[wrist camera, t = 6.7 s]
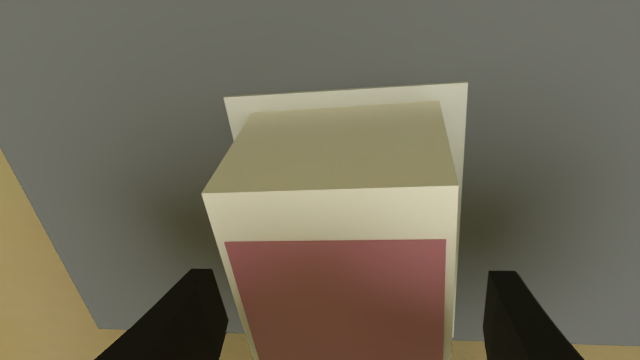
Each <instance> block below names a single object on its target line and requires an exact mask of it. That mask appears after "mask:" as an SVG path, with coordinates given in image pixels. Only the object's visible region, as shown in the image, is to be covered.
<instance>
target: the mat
mask: <svg viewBox="0 0 640 360" xmlns="http://www.w3.org/2000/svg"><path fill="white" fill-rule="evenodd" d="M427 101H440V106H441V110H442V115H443V119H444V123H445V128H446V132H447V137H448V141H449V145H450V150H451V154H452V158H453V163H454V167H455V172H456V176H457V180H458V185H459V189H458V213H457V236H456V260H455V284H454V308H453V332H452V340H464V341H484V334H483V319H484V309H485V300H486V290H487V281H488V271H516V272H517V273H518V274H519V275H520V277H521V278H522V280H523V281H524V283H525V284H526V286H527V287H528V289H529V290H530V291H531V293H532V294H533V296H534V297H535V298H536V300H537V301H538V303H539V304H540V305H541V307H542V308H543V309H544V311H545V312H546V313H547V315H548V316H549V317H550V319H551V320H552V321H553V322H554V324H555V325H556V326H557V327H558V329H559V330H560V331H561V332H562V334H563V335H564V336H565V337H566V338H567V340H568V341H569V342H570V343H571V344H588V345H619V346H640V0H0V148H1V150H2V152H3V153H4V155H5V157H6V159H7V161H8V163H9V165H10V166H11V168H12V170H13V172H14V174H15V176H16V177H17V179H18V181H19V183H20V185H21V187H22V189H23V190H24V192H25V194H26V196H27V198H28V200H29V201H30V203H31V205H32V207H33V209H34V211H35V213H36V214H37V216H38V218H39V220H40V222H41V224H42V225H43V227H44V229H45V231H46V233H47V235H48V236H49V238H50V240H51V242H52V244H53V246H54V248H55V249H56V251H57V253H58V255H59V257H60V259H61V260H62V262H63V264H64V266H65V268H66V270H67V272H68V273H69V275H70V277H71V279H72V281H73V283H74V284H75V286H76V288H77V290H78V292H79V294H80V295H81V297H82V299H83V301H84V303H85V305H86V307H87V308H88V310H89V312H90V314H91V316H92V318H93V319H94V321H95V323H96V325H97V327H98V329H124V330H128V329H130V328H131V327H132V326H133V325H134V324H135V323H136V322H137V321H138V320H139V319H140V318H141V317H142V316H143V315H144V314H145V313H146V312H147V311H148V310H150V309H151V308H152V307H153V306H154V305H155V304H156V303H157V302H158V301H159V300H160V299H161V298H162V297H163V296H164V295H165V294H166V293H167V292H168V291H169V290H170V289H171V288H172V287H173V286H174V285H175V284H176V283H177V282H178V281H179V280H180V279H181V278H182V277H183V276H184V275H185V274H186V273H187V272H188V271H189V270H191V269H212V270H213V273H214V276H215V279H216V282H217V285H218V288H219V292H220V295H221V298H222V301H223V304H224V307H225V310H226V314H227V317H228V320H229V321H228V326H227V330H226V333H244V330H243V327H242V323H241V320H240V317H239V314H238V310H237V307H236V304H235V301H234V298H233V294H232V291H231V288H230V285H229V281H228V278H227V275H226V272H225V269H224V265H223V262H222V259H221V256H220V252H219V249H218V246H217V243H216V240H215V236H214V233H213V230H212V227H211V223H210V220H209V217H208V214H207V211H206V207H205V204H204V201H203V198H202V194H201V193H202V191H203V190H204V188H205V187H206V185H207V183H208V182H209V180H210V179H211V177H212V176H213V174H214V172H215V171H216V169H217V168H218V166H219V164H220V163H221V161H222V160H223V158H224V156H225V155H226V153H227V152H228V150H229V148H230V147H231V145H232V144H233V142H234V140H235V139H236V137H237V136H238V134H239V133H240V131H241V129H242V128H243V126H244V125H245V123H246V121H247V120H248V118H249V117H250V115H251V113H253V112H268V111H284V110H300V109H316V108H332V107H347V106H363V105H379V104H395V103H411V102H427Z"/></svg>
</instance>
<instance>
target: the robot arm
mask: <svg viewBox="0 0 640 360" xmlns="http://www.w3.org/2000/svg"><path fill="white" fill-rule="evenodd" d="M228 321H229V320H228V317H227V314H226V310H225V307H224V304H223V301H222V298H221V295H220V292H219V288H218V285H217V282H216V279H215V276H214V273H213V270H212V269H191V270H189V271H188V272H187V273H186V274H185V275H184V276H183V277H182V278H181V279H180V280H179V281H178V282H177V283H176V284H175V285H174V286H173V287H172V288H171V289H170V290H169V291H168V292H167V293H166V294H165V295H164V296H163V297H162V298H161V299H160V300H159V301H158V302H157V303H156V304H155V305H154V306H153V307H152V308H151V309H150V310H148V311H147V312H146V313H145V314H144V315H143V316H142V317H141V318H140V319H139V320H138V321H137V322H136V323H135V324H134V325H133V326H132V327H131V328H130V329H128V330H127V331H126V332H125V333H124V334H123V335H122V336H121V337H119V338H118V339H117V340H116V341H115V342H114V343H113V344H112V345H110V346H109V347H108V348H107V349H106V350H105V351H104V352H103V353H101V354H100V355H99V356H98V357H97V358H96V359H94V360H219V357H220V354H221V350H222V346H223V342H224V338H225V334H226V330H227V326H228ZM483 334H484V341H485V348H486V354H487V360H584V359H583V358H582V356H581V355H580V354H579V353H578V352H577V351H576V349H575V348H574V347H573V346H572V345H571V343H570V342H569V341H568V340H567V338H566V337H565V336H564V335H563V334H562V332H561V331H560V330H559V329H558V327H557V326H556V325H555V324H554V322H553V321H552V320H551V319H550V317H549V316H548V315H547V313H546V312H545V311H544V309H543V308H542V307H541V305H540V304H539V303H538V301H537V300H536V298H535V297H534V296H533V294H532V293H531V291H530V290H529V289H528V287H527V286H526V284H525V283H524V281H523V280H522V278H521V277H520V275H519V274H518V273H517V272H516V271H488V281H487V290H486V300H485V309H484V319H483Z"/></svg>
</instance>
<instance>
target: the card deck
mask: <svg viewBox="0 0 640 360" xmlns="http://www.w3.org/2000/svg"><path fill="white" fill-rule="evenodd" d="M458 189H459V185H458V180H457V176H456V172H455V167H454V163H453V158H452V154H451V150H450V145H449V141H448V137H447V132H446V128H445V123H444V119H443V115H442V110H441V106H440V101H427V102H411V103H395V104H379V105H363V106H347V107H332V108H316V109H300V110H284V111H268V112H253V113H251V115H250V117H249V118H248V120H247V121H246V123H245V125H244V126H243V128H242V129H241V131H240V133H239V134H238V136H237V137H236V139H235V140H234V142H233V144H232V145H231V147H230V148H229V150H228V152H227V153H226V155H225V156H224V158H223V160H222V161H221V163H220V164H219V166H218V168H217V169H216V171H215V172H214V174H213V176H212V177H211V179H210V180H209V182H208V183H207V185H206V187H205V188H204V190H203V191H202V193H201V194H202V198H203V201H204V204H205V207H206V211H207V214H208V217H209V220H210V223H211V227H212V230H213V233H214V236H215V240H216V243H217V246H218V249H219V252H220V256H221V259H222V262H223V265H224V269H225V272H226V275H227V278H228V281H229V285H230V288H231V291H232V294H233V298H234V301H235V304H236V307H237V310H238V314H239V317H240V320H241V323H242V327H243V330H244V333H245V336H246V339H247V343H248V346H249V349H250V352H251V356H252V359H253V360H451V356H452V332H453V308H454V284H455V260H456V236H457V213H458Z"/></svg>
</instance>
